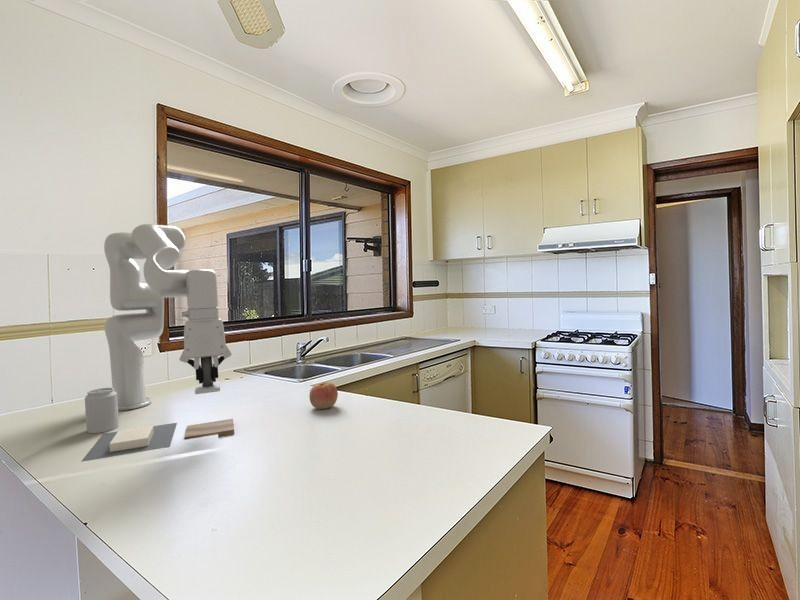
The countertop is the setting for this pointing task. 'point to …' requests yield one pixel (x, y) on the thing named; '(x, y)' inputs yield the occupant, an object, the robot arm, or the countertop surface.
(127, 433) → the tile
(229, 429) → the plate
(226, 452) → the countertop surface
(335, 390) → the apple
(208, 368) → the grey post stand
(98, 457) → the mat
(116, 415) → the can
